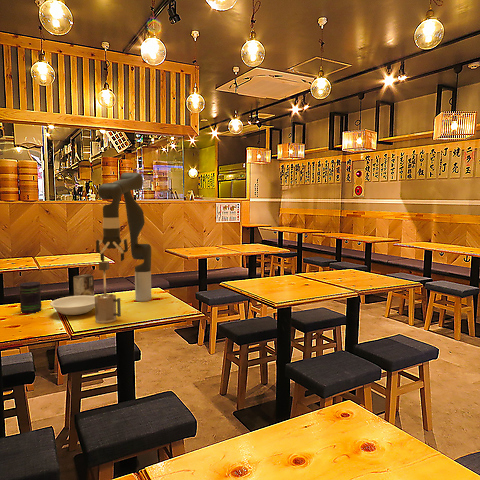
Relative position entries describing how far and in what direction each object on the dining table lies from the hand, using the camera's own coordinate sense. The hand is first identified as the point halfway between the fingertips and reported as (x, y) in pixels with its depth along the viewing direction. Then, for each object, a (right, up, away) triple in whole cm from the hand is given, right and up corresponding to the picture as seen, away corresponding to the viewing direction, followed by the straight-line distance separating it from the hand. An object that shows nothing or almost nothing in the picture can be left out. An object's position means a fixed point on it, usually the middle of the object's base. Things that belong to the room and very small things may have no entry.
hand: (112, 261), depth 183 cm
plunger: (-5, -18, +5) cm, 20 cm away
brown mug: (-4, -29, +6) cm, 30 cm away
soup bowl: (-25, -28, +18) cm, 42 cm away
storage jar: (-50, -28, +21) cm, 61 cm away
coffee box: (-28, -26, +37) cm, 53 cm away
